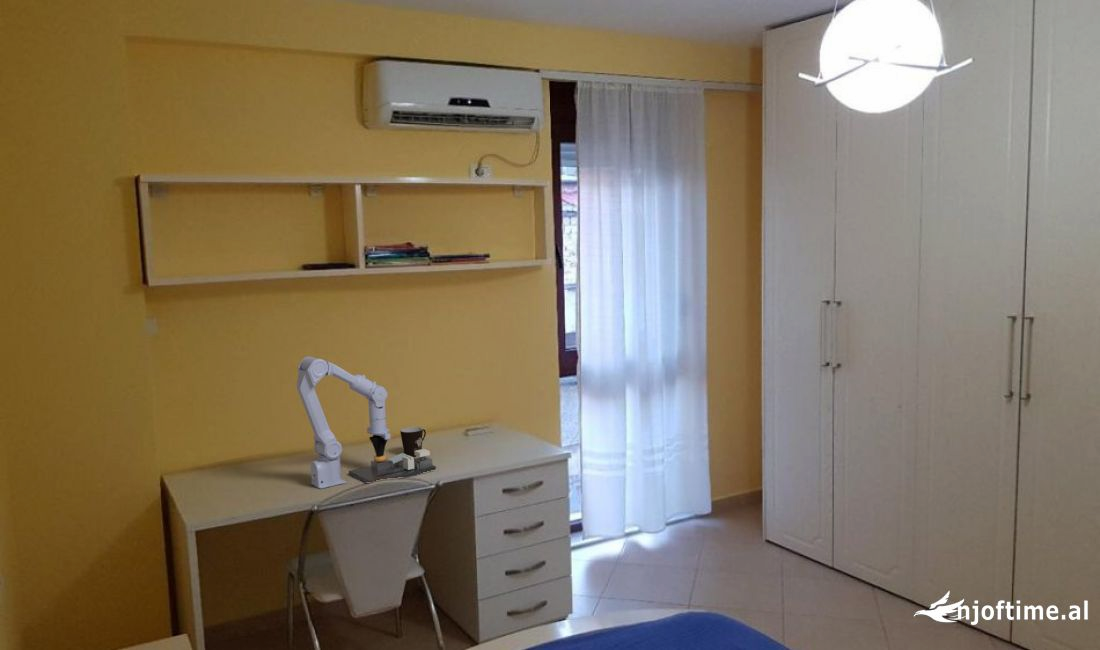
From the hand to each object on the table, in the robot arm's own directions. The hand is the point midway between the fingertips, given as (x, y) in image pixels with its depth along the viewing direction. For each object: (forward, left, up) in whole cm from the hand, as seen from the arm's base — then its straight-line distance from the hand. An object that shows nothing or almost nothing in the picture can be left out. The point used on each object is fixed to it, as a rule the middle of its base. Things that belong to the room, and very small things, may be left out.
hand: (380, 455), depth 295 cm
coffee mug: (+21, +12, -6) cm, 25 cm away
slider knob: (+6, -9, -4) cm, 12 cm away
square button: (+12, -9, -3) cm, 15 cm away
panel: (+3, -4, -6) cm, 8 cm away
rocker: (+7, 0, -3) cm, 8 cm away
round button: (0, 0, -4) cm, 4 cm away
